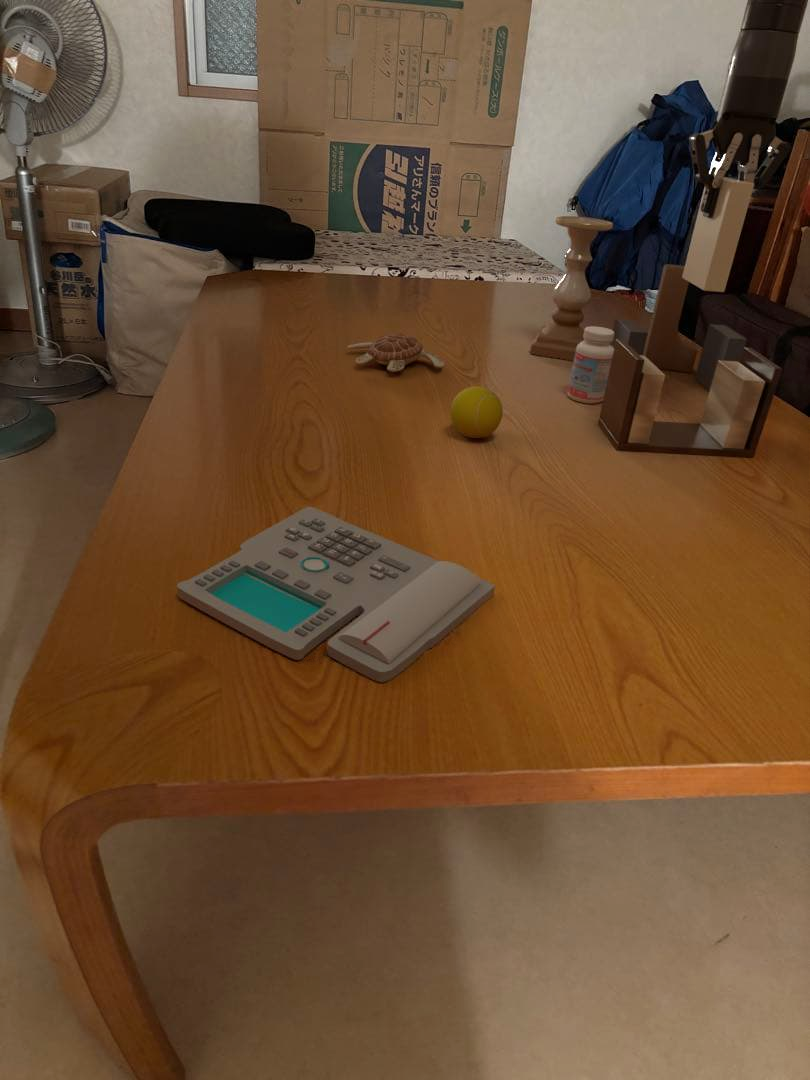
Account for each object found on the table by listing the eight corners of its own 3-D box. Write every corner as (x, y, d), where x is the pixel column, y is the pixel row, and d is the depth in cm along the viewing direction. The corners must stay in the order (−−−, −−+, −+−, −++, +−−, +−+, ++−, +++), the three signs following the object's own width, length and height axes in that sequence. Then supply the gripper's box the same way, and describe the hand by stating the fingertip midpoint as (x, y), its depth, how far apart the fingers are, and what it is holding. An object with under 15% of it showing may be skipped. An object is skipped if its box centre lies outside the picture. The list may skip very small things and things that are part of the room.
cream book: (701, 279, 117) (727, 177, 110) (724, 292, 109) (754, 183, 102) (681, 277, 116) (707, 175, 110) (703, 290, 109) (732, 181, 102)
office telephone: (499, 572, 73) (376, 679, 58) (495, 595, 74) (374, 706, 60) (309, 494, 83) (163, 569, 69) (308, 515, 85) (165, 593, 70)
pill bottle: (559, 393, 128) (571, 325, 122) (588, 390, 131) (601, 324, 125) (582, 406, 123) (596, 336, 118) (612, 402, 126) (627, 334, 120)
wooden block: (689, 366, 148) (715, 269, 139) (691, 373, 144) (718, 273, 135) (641, 360, 149) (664, 263, 140) (642, 367, 146) (665, 267, 137)
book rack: (725, 431, 119) (750, 347, 112) (753, 457, 110) (782, 368, 103) (597, 424, 117) (616, 338, 111) (616, 450, 108) (637, 359, 102)
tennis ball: (438, 432, 109) (443, 384, 106) (473, 423, 113) (479, 377, 110) (473, 449, 105) (479, 400, 101) (508, 439, 109) (515, 391, 105)
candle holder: (529, 354, 147) (550, 219, 135) (537, 340, 156) (558, 213, 144) (586, 363, 145) (613, 227, 133) (592, 348, 154) (617, 220, 142)
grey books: (710, 379, 142) (725, 325, 137) (730, 396, 134) (747, 339, 129) (603, 373, 140) (615, 317, 135) (617, 389, 132) (630, 331, 127)
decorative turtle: (459, 361, 140) (463, 334, 137) (423, 385, 126) (425, 355, 124) (370, 342, 146) (371, 316, 143) (326, 364, 132) (326, 335, 130)
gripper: (716, 68, 96) (680, 217, 104) (824, 79, 97) (780, 226, 105) (694, 70, 102) (662, 210, 111) (796, 80, 103) (757, 218, 112)
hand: (720, 217), depth 108 cm, fingers closed on cream book, 3 cm apart
